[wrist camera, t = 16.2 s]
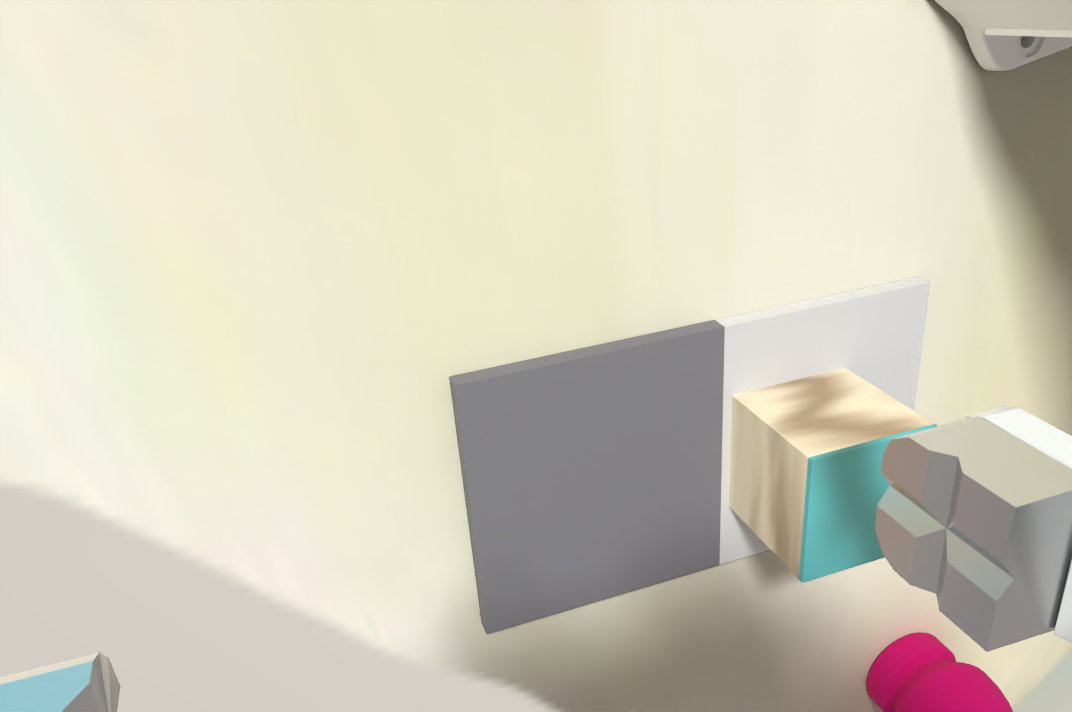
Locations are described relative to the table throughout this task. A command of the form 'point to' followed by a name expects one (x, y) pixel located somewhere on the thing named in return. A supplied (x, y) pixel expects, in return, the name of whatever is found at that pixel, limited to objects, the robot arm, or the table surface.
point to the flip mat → (645, 445)
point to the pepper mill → (930, 680)
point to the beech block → (815, 467)
